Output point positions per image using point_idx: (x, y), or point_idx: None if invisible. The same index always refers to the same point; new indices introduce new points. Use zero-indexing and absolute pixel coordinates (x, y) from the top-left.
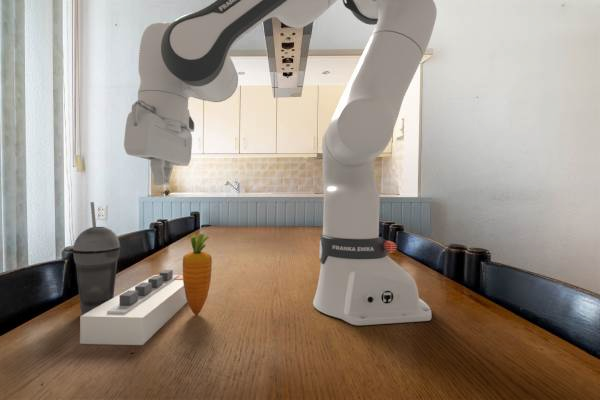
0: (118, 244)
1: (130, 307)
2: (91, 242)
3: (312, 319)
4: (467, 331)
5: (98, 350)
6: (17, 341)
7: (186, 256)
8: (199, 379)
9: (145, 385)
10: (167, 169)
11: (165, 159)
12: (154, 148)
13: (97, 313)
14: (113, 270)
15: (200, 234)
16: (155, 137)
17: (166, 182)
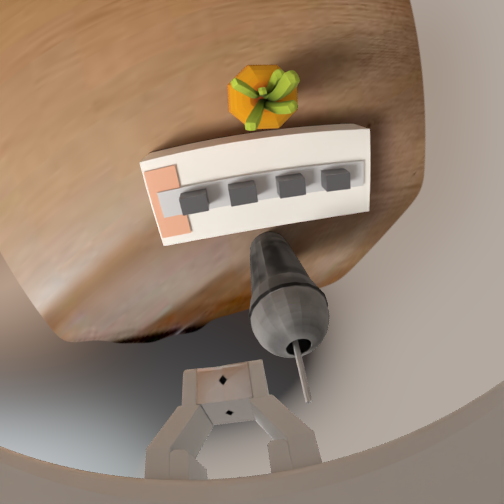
0: (279, 294)
1: (349, 163)
2: (327, 313)
3: None
4: None
5: None
6: (348, 262)
7: (287, 116)
8: (401, 38)
9: (413, 84)
10: (181, 448)
11: (318, 465)
12: (487, 436)
13: (360, 197)
14: (279, 264)
15: (298, 80)
16: (500, 492)
17: (220, 372)
